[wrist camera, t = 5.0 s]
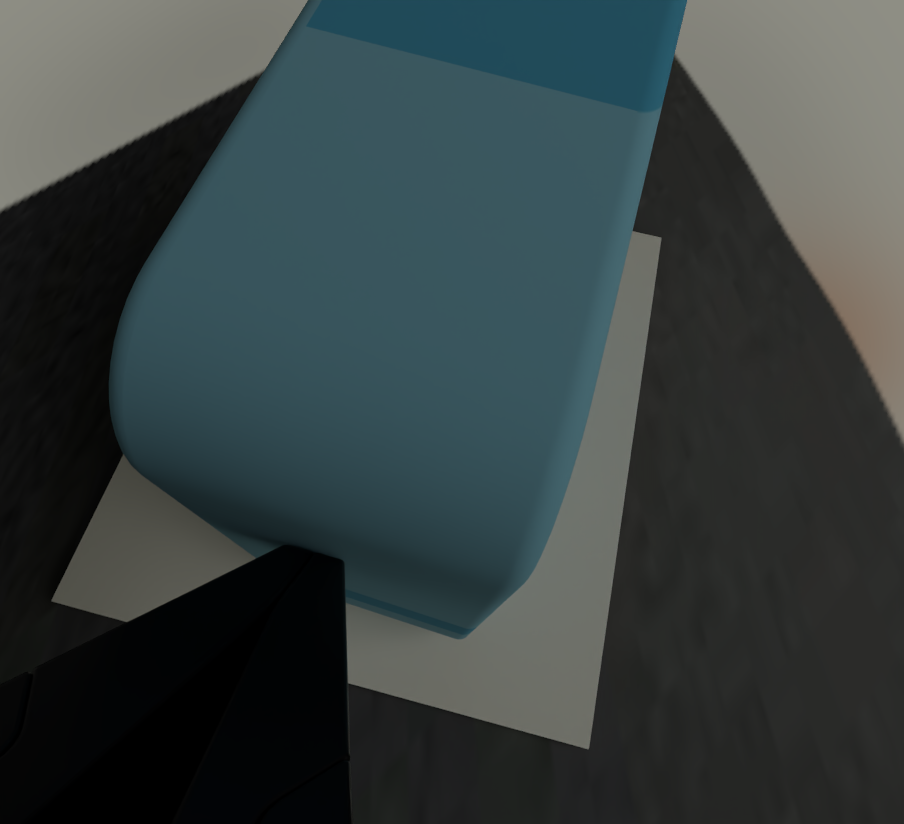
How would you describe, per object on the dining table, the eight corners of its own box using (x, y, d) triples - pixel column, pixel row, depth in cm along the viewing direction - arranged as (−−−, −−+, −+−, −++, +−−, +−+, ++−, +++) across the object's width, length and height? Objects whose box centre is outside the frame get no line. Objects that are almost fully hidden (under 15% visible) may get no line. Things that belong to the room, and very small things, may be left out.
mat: (584, 747, 15) (589, 749, 15) (59, 602, 16) (51, 601, 16) (657, 245, 22) (661, 237, 21) (276, 157, 23) (273, 149, 22)
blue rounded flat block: (462, 646, 16) (556, 575, 5) (297, 591, 16) (36, 408, 5) (566, 276, 21) (734, -189, 10) (436, 240, 21) (453, -250, 10)
